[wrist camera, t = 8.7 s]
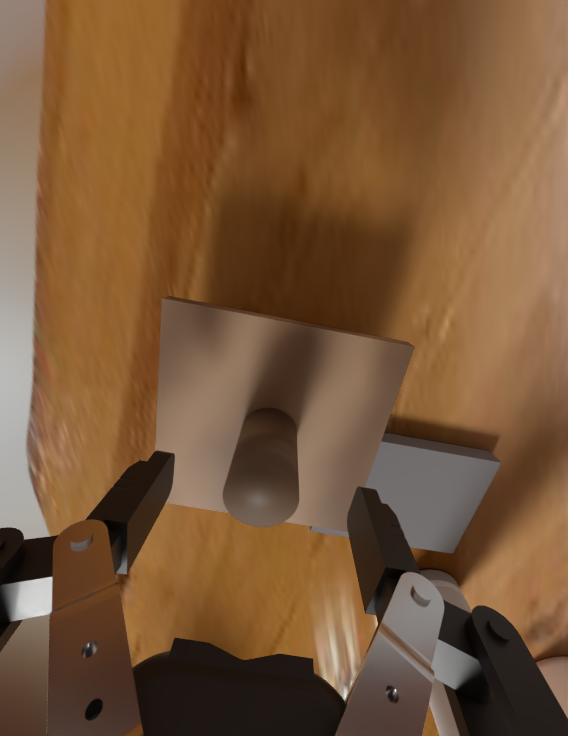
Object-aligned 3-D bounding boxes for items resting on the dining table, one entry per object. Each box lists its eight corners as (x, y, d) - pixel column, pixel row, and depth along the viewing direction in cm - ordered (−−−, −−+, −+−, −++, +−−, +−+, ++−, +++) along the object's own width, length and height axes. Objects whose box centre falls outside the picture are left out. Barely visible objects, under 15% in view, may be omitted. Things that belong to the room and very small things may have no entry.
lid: (407, 341, 16) (473, 384, 10) (346, 519, 20) (368, 619, 14) (170, 296, 15) (98, 313, 9) (159, 489, 19) (106, 580, 14)
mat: (489, 451, 24) (501, 462, 22) (444, 538, 27) (452, 553, 26) (336, 423, 23) (339, 434, 22) (309, 517, 26) (310, 531, 25)
